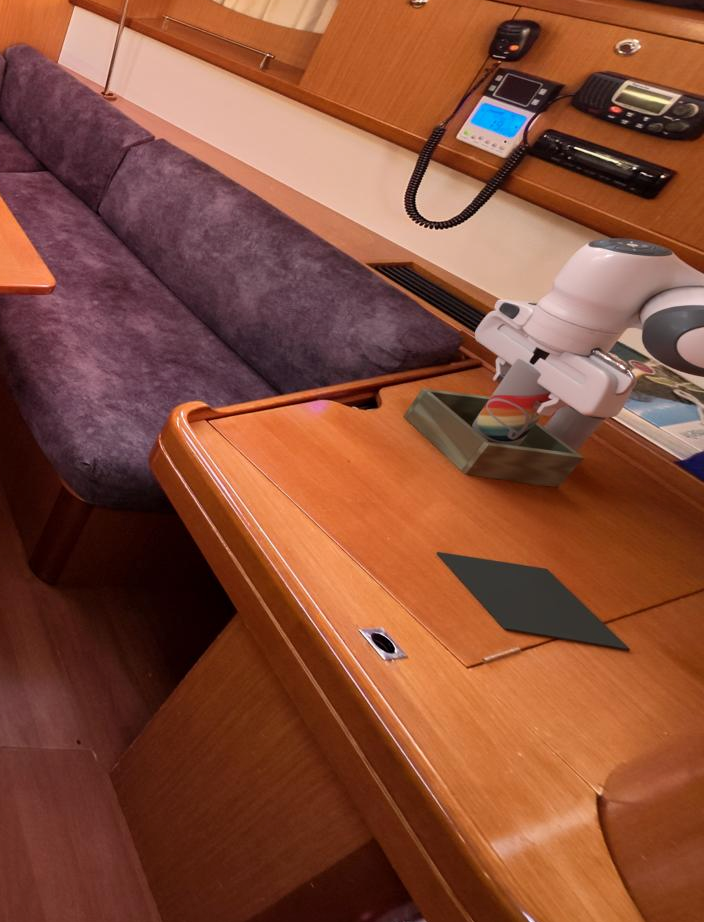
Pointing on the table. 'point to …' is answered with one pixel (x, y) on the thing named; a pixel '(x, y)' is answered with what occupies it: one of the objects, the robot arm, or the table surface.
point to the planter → (573, 426)
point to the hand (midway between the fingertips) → (519, 397)
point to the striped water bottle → (513, 404)
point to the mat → (530, 601)
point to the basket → (454, 436)
